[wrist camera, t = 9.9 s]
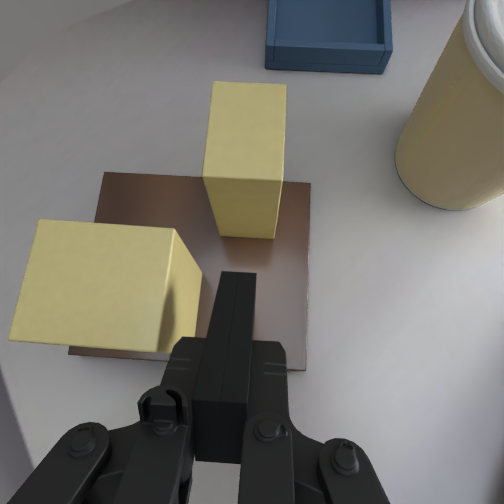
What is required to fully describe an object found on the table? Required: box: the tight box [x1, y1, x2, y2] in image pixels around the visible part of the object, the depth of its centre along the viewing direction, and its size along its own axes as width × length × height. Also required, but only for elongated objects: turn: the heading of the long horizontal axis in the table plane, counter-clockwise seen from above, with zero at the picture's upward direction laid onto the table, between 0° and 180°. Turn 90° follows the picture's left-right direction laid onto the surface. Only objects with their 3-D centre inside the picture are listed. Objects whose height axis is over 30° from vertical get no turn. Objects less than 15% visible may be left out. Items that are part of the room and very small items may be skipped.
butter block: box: [8, 219, 202, 354], centre depth 18 cm, size 6×5×8 cm
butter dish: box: [265, 0, 393, 74], centre depth 29 cm, size 9×9×2 cm
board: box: [68, 172, 311, 371], centre depth 24 cm, size 14×12×2 cm
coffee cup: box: [395, 0, 504, 210], centre depth 21 cm, size 9×9×12 cm
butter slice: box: [202, 81, 287, 239], centre depth 20 cm, size 4×5×8 cm
